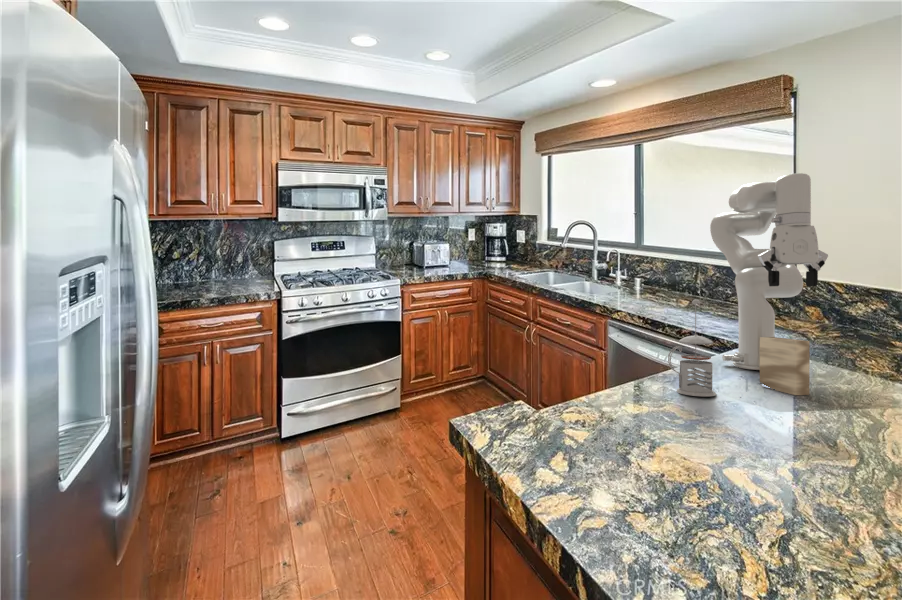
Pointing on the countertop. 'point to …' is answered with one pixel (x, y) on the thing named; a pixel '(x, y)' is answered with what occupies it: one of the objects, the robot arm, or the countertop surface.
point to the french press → (688, 385)
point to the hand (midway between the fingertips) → (792, 286)
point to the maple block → (785, 364)
